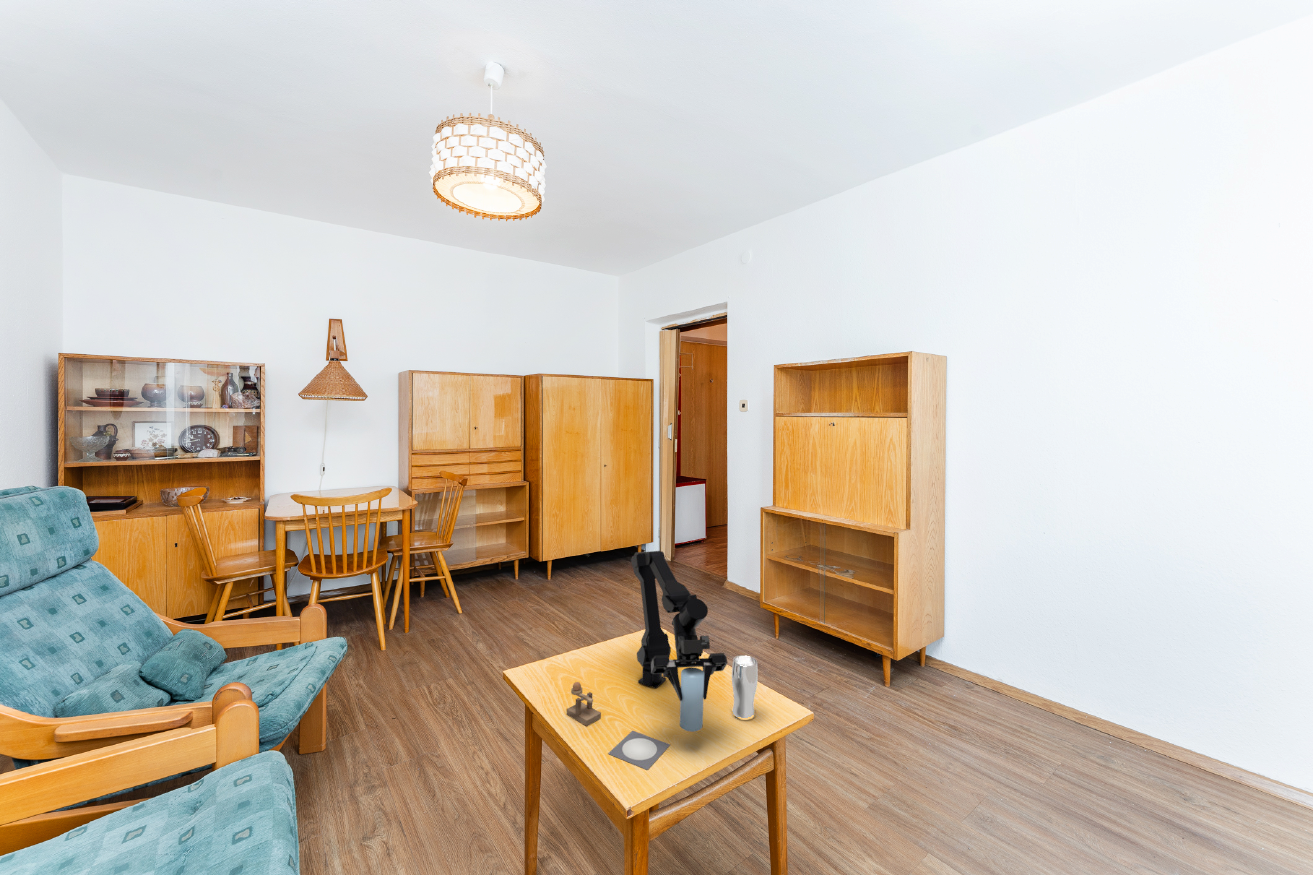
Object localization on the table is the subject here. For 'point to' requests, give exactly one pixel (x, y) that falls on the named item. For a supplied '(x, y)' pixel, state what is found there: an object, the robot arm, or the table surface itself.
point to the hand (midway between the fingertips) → (693, 699)
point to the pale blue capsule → (692, 699)
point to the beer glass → (744, 685)
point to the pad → (639, 749)
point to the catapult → (583, 707)
